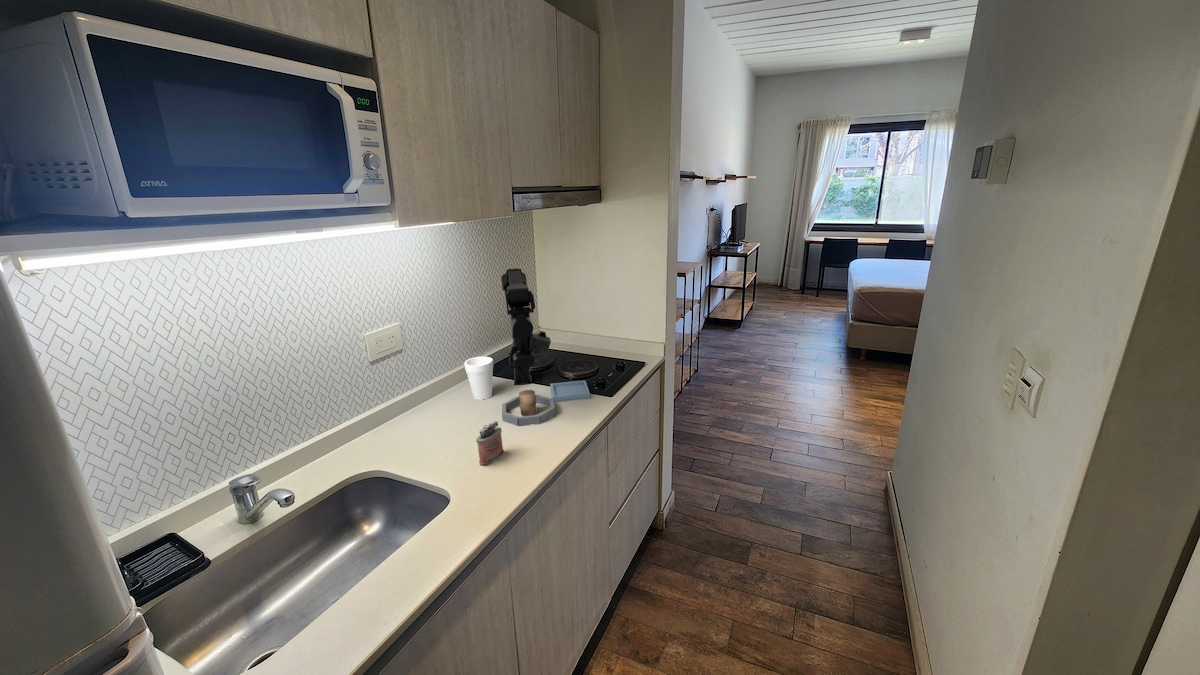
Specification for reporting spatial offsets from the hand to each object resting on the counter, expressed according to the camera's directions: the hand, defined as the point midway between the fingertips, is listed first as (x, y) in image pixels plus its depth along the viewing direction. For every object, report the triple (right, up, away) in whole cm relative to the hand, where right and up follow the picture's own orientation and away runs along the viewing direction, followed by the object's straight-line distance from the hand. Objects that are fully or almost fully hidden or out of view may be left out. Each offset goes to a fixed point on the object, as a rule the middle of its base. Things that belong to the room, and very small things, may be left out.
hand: (525, 376), depth 152 cm
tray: (+13, -7, +17) cm, 23 cm away
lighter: (-6, -21, -21) cm, 30 cm away
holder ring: (0, -12, +4) cm, 13 cm away
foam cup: (-18, -8, +18) cm, 26 cm away
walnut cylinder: (0, -12, +4) cm, 13 cm away
